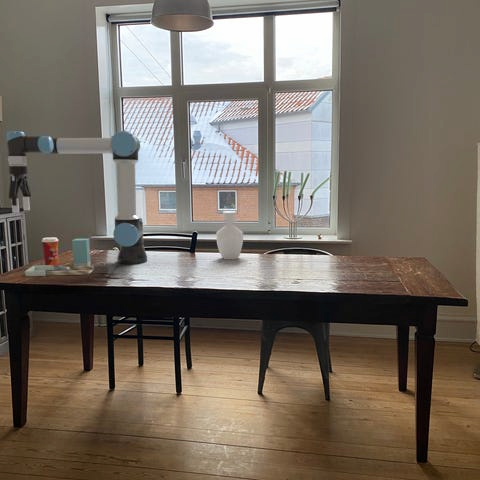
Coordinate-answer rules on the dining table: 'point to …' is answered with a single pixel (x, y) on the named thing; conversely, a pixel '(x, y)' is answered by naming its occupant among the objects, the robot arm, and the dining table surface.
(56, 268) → the chip
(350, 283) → the dining table surface
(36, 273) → the tray
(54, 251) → the paper cup
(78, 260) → the teal tall block
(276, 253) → the dining table surface
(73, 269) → the slot board
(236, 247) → the vase
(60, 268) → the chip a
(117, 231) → the robot arm
